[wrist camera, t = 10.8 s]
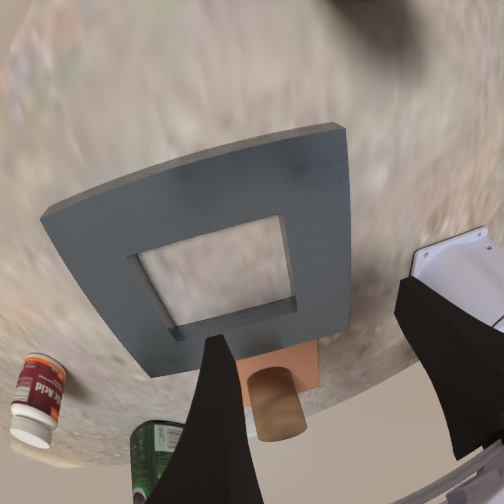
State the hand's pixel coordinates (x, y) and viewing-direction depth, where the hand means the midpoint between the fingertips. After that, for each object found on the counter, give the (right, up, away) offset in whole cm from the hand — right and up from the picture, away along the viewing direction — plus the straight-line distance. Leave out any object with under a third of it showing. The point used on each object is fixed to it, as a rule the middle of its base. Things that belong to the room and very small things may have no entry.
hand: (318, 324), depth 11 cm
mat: (-1, -9, +17) cm, 19 cm away
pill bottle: (-23, -8, +12) cm, 27 cm away
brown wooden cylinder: (-1, -10, +16) cm, 19 cm away
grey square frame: (-5, +1, +8) cm, 10 cm away
